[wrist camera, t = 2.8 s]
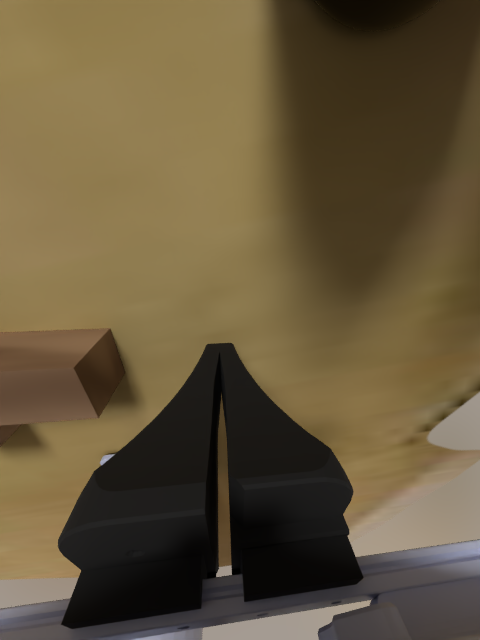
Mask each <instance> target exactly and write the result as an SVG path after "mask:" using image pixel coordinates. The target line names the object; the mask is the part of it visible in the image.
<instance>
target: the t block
mask: <svg viewBox="0 0 480 640" xmlns="http://www.w3.org/2000/svg"><path fill="white" fill-rule="evenodd" d="M124 374H125V371H124V368H123V365H122V362H121V359H120V356H119V353H118V350H117V347H116V344H115V342H114V339H113V336H112V333H111V330H110V328H107V329H80V330H54V331H28V332H1V333H0V447H1V446H2V445H3V444H4V442H5V441H6V440H7V439H8V438H9V437H10V436H11V435H12V434H13V433H14V432H15V431H16V429H17V428H18V427H19V426H20V425H21V424H28V423H41V422H55V421H69V420H82V419H96V418H99V417H100V415H101V413H102V412H103V410H104V408H105V406H106V405H107V403H108V401H109V399H110V398H111V396H112V394H113V393H114V391H115V389H116V387H117V386H118V384H119V382H120V381H121V379H122V377H123V375H124Z"/></svg>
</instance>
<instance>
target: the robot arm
mask: <svg viewBox="0 0 480 640" xmlns="http://www.w3.org/2000/svg"><path fill="white" fill-rule="evenodd" d="M221 392H222V400H223V409H224V417H225V425H226V434H227V451H228V478H229V506H230V533H231V561H232V575H229V576H222V577H216V573H217V571H218V569H219V558H218V427H219V415H220V403H221ZM100 464H101V466H100V467H99V468H98V469H96V470H95V471H94V473H93V474H92V476H91V478H90V480H89V481H88V483H87V484H86V486H85V488H84V489H83V491H82V493H81V495H80V497H79V498H78V500H77V502H76V504H75V506H74V509H73V511H72V513H71V515H70V517H69V519H68V521H67V523H66V525H65V527H64V529H63V531H62V533H61V535H60V537H59V539H58V547H59V550H60V552H61V553H62V554H63V556H65V557H66V558H67V559H68V560H70V561H71V562H72V563H73V564H74V565H76V566H77V567H78V568H79V569H81V573H80V576H79V578H78V581H77V584H76V586H75V589H74V592H73V594H72V597H71V598H70V599H63V600H56V601H50V602H43V603H36V604H29V605H22V606H15V607H8V608H1V609H0V640H202V628H204V627H210V626H216V625H222V624H228V623H234V622H240V621H246V620H252V619H258V618H264V617H270V616H276V615H282V614H289V613H294V612H300V611H307V610H313V609H319V608H325V607H331V606H337V605H343V604H349V603H355V602H361V601H367V600H371V603H370V606H367V607H364V608H360V609H356V610H352V611H349V612H345V613H341V614H338V615H334V616H333V620H332V622H331V623H330V624H328V625H326V626H324V627H322V628H320V629H319V631H318V637H319V640H480V539H478V540H471V541H464V542H458V543H451V544H444V545H437V546H430V547H423V548H416V549H409V550H403V551H395V552H389V553H382V554H374V555H368V556H361V557H355V555H354V552H353V549H352V547H351V544H350V542H349V539H348V537H347V535H349V529H348V526H347V524H346V521H345V519H344V516H343V513H344V512H345V510H346V508H347V506H348V505H349V503H350V501H351V498H352V495H353V489H352V486H351V484H350V481H349V479H348V477H347V475H346V473H345V471H344V470H343V468H342V466H341V465H340V463H339V461H338V460H337V458H336V456H335V455H334V453H333V452H332V450H331V449H330V448H329V447H328V446H326V445H325V444H323V443H322V442H321V441H319V440H318V439H317V438H315V437H314V436H312V435H311V434H310V433H308V432H307V431H306V430H304V429H303V428H302V427H301V426H299V425H298V424H297V423H296V422H295V421H293V420H292V419H291V418H290V417H289V416H288V415H287V414H286V413H285V412H283V411H282V410H281V409H280V408H279V407H278V406H277V405H276V404H275V403H274V402H273V401H272V400H271V399H270V398H269V397H268V396H267V395H266V394H265V393H264V391H263V390H262V389H261V388H260V387H259V386H258V384H257V383H256V382H255V380H254V379H253V378H252V376H251V375H250V374H249V372H248V371H247V369H246V368H245V366H244V365H243V363H242V361H241V360H240V358H239V356H238V354H237V352H236V350H235V348H234V345H233V344H232V343H219V344H207V345H206V347H205V350H204V352H203V354H202V356H201V358H200V360H199V362H198V363H197V365H196V367H195V368H194V370H193V372H192V373H191V375H190V376H189V378H188V379H187V381H186V382H185V384H184V385H183V386H182V388H181V389H180V390H179V392H178V393H177V394H176V395H175V397H174V398H173V399H172V400H171V401H170V402H169V404H168V405H167V406H166V407H165V408H164V409H163V410H162V411H161V412H160V414H159V415H158V416H157V417H156V418H155V419H154V420H153V421H152V422H151V423H150V424H149V425H147V426H146V427H145V428H144V429H143V430H142V431H141V432H140V433H139V434H138V435H137V436H136V437H135V438H134V439H133V440H131V441H130V442H129V443H128V444H127V445H126V446H125V447H123V448H122V449H121V450H120V451H118V452H117V453H116V454H109V455H105V456H103V457H102V459H101V462H100Z"/></svg>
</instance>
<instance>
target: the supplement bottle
mask: <svg viewBox="0 0 480 640" xmlns="http://www.w3.org/2000/svg"><path fill="white" fill-rule="evenodd" d="M315 1H316V2H317V3H318V4H319V6H320V7H321V8H322V9H323V10H324V11H325V12H326V13H327V14H329V15H330V16H331V17H332V18H333V19H335V20H336V21H338V22H340V23H341V24H343V25H345V26H348V27H350V28H353V29H357V30H361V31H383V30H388V29H391V28H395V27H398V26H400V25H403V24H405V23H407V22H409V21H411V20H413V19H415V18H417V17H418V16H420V15H422V14H423V13H424V12H426V11H427V10H429V9H430V8H432V7H433V6H434V5H435V4H437V3H438V2H439V1H440V0H315Z"/></svg>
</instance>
